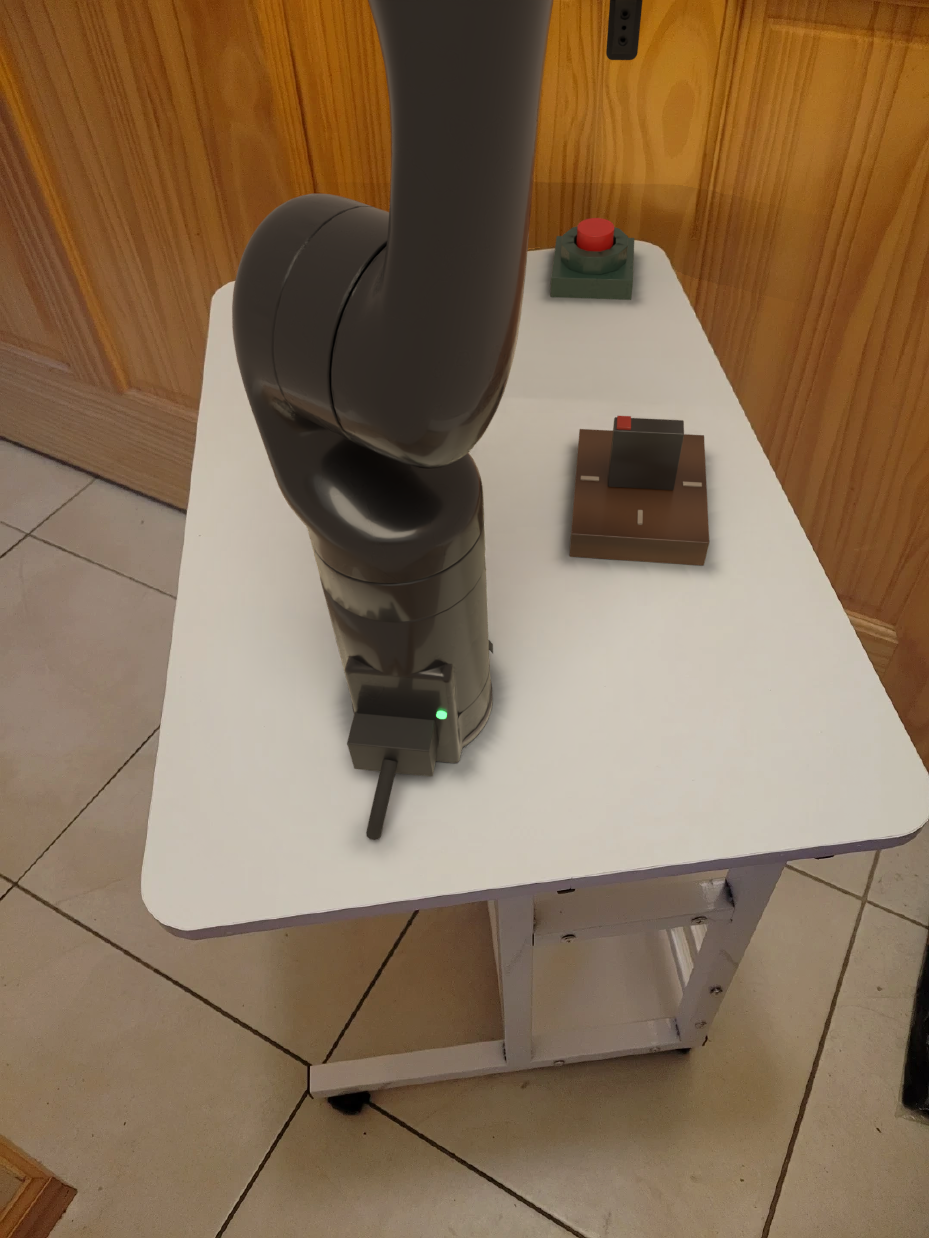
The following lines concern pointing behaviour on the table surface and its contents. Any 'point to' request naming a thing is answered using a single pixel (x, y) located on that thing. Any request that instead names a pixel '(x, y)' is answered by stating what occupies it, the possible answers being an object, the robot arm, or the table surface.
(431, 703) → the robot arm
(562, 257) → the button box
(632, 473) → the lock knob
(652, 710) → the table surface
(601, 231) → the button
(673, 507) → the panel
